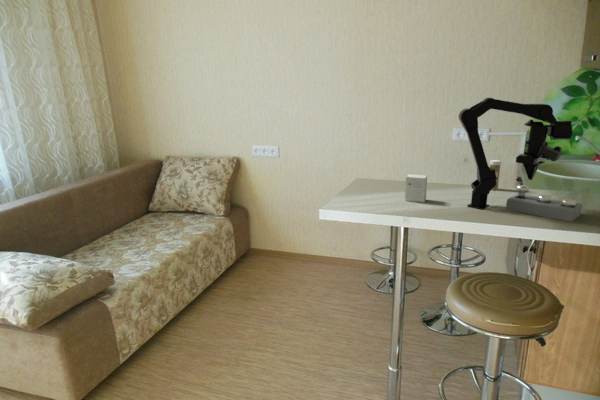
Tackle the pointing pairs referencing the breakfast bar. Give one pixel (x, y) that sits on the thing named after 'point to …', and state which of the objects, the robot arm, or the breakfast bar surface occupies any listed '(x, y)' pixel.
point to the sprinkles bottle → (496, 170)
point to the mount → (544, 208)
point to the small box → (416, 188)
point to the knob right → (568, 203)
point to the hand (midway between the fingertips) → (530, 179)
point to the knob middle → (544, 198)
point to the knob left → (522, 191)
